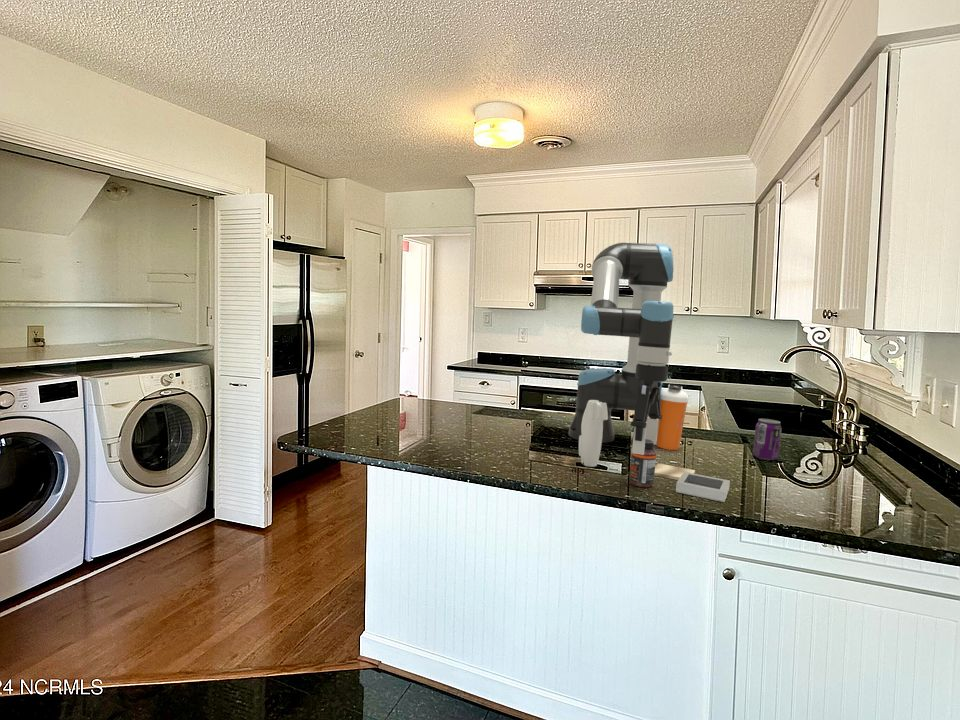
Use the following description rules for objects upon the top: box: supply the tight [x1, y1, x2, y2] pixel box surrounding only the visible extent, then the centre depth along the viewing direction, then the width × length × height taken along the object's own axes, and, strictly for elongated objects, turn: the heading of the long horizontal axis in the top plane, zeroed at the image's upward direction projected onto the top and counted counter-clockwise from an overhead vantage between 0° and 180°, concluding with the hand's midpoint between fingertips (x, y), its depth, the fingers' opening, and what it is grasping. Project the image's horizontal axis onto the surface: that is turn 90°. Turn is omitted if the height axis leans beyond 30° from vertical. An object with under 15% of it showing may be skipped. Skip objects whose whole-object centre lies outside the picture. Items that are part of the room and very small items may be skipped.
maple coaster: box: [654, 463, 696, 481], centre depth 151 cm, size 10×10×1 cm
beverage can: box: [752, 418, 782, 461], centre depth 173 cm, size 7×7×12 cm
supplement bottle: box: [628, 439, 657, 488], centre depth 140 cm, size 6×6×11 cm
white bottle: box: [578, 400, 608, 468], centre depth 154 cm, size 7×18×7 cm
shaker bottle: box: [656, 384, 689, 451], centre depth 179 cm, size 9×9×20 cm
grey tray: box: [675, 472, 731, 503], centre depth 138 cm, size 11×11×2 cm
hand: (644, 448), depth 139 cm, fingers open, 13 cm apart
